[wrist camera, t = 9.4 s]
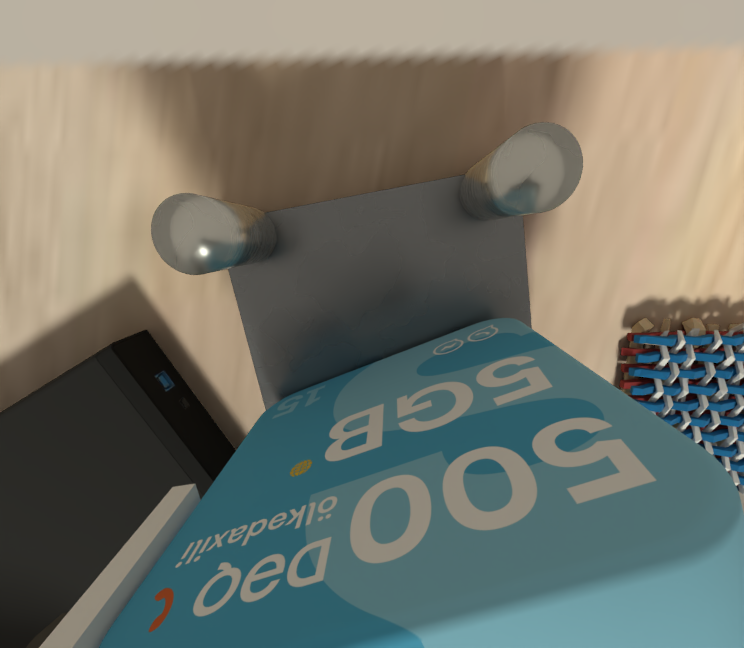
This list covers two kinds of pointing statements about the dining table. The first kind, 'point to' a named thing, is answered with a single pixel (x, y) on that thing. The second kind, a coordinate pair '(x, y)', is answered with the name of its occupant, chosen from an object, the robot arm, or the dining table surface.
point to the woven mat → (692, 384)
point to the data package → (455, 516)
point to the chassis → (374, 260)
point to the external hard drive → (92, 474)
